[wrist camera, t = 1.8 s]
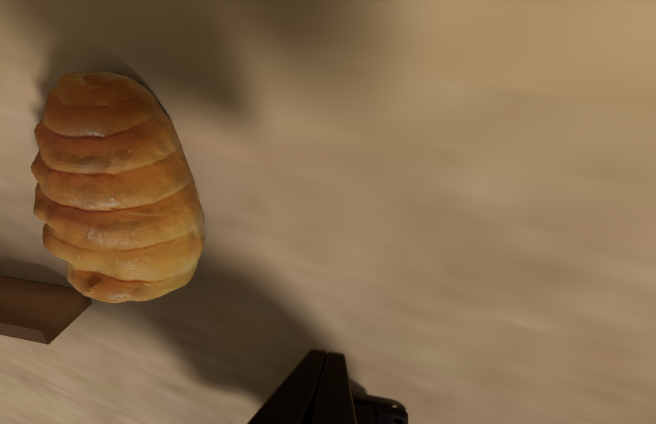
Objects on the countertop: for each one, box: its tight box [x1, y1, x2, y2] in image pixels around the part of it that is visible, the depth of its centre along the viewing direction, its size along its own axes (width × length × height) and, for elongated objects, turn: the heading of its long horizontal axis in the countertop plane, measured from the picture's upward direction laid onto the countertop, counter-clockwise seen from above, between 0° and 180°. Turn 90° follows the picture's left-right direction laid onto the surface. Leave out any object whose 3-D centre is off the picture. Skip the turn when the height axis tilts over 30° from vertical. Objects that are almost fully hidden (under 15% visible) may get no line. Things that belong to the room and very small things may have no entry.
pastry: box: [31, 72, 205, 303], centre depth 15 cm, size 9×7×4 cm
